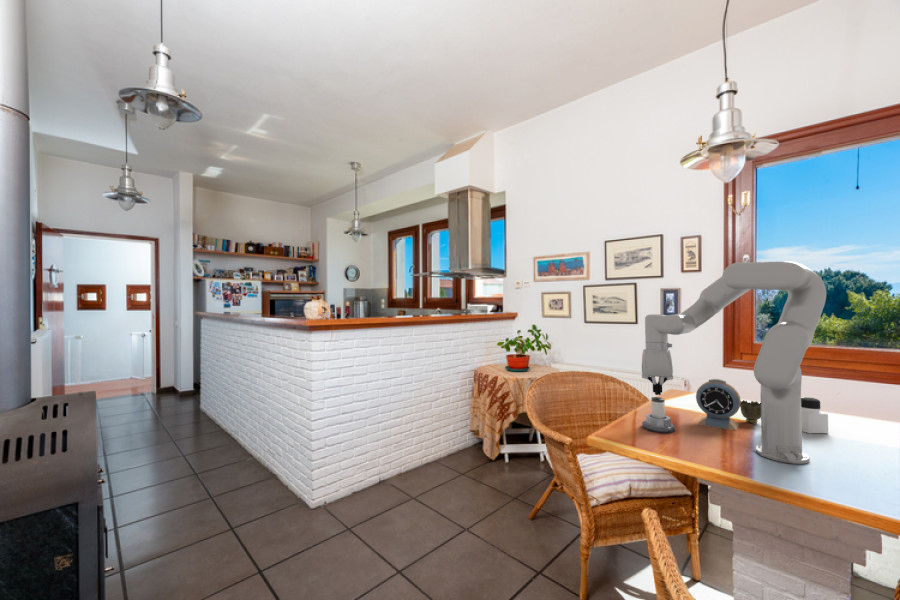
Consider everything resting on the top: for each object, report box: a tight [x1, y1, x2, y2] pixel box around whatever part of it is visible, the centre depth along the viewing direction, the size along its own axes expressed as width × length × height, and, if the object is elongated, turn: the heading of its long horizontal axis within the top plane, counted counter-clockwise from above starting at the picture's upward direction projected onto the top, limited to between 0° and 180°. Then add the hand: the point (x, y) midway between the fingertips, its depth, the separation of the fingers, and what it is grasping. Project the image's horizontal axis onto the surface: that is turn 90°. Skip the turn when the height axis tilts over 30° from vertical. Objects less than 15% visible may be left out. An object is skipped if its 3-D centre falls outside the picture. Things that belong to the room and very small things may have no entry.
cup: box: [739, 399, 761, 424], centre depth 150 cm, size 8×7×8 cm
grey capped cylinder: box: [650, 396, 666, 419], centre depth 145 cm, size 4×4×10 cm
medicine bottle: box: [801, 396, 829, 434], centre depth 140 cm, size 7×7×12 cm
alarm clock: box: [695, 378, 742, 432], centre depth 148 cm, size 14×10×18 cm
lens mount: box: [641, 413, 676, 434], centre depth 145 cm, size 11×11×4 cm
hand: (657, 394), depth 145 cm, fingers closed
